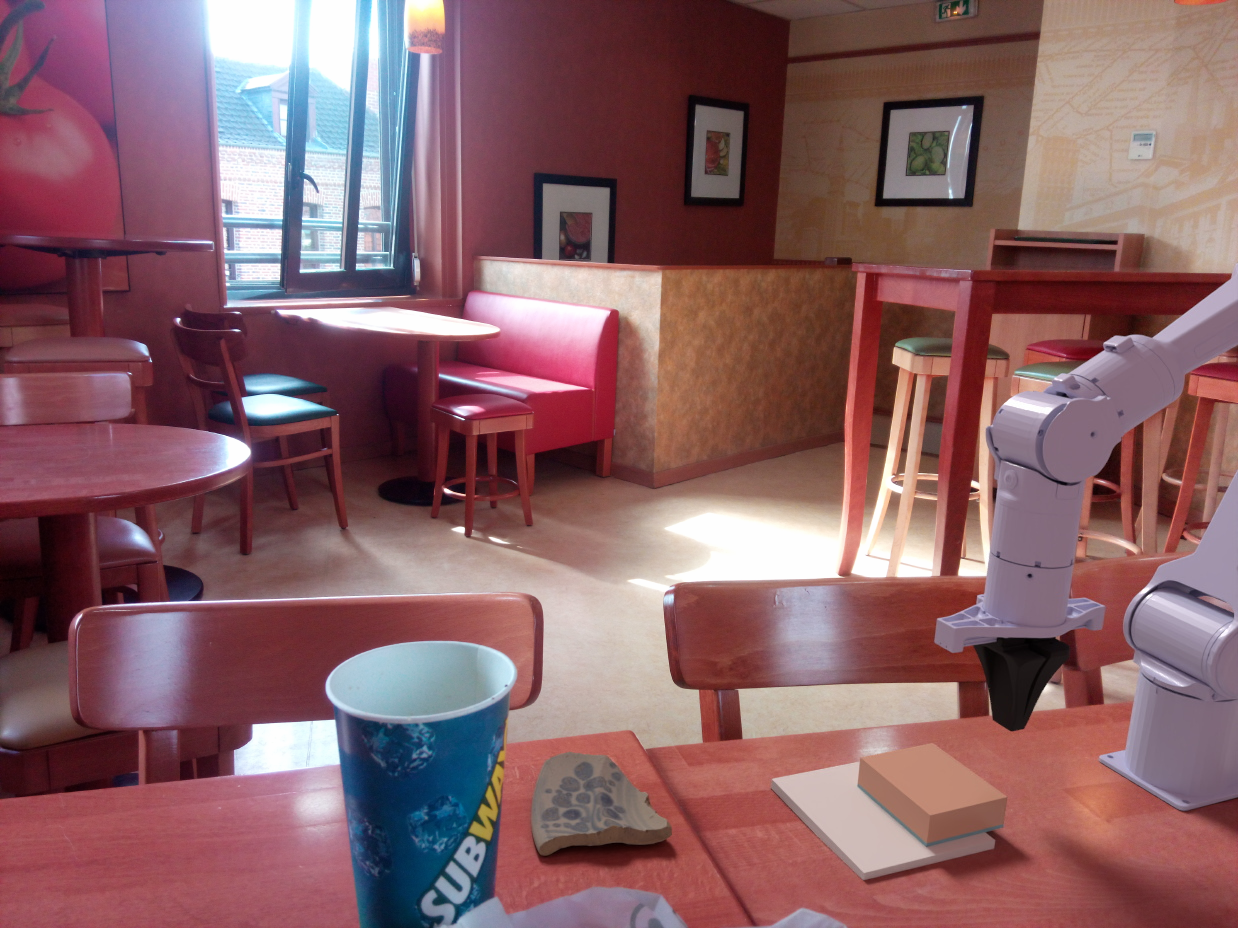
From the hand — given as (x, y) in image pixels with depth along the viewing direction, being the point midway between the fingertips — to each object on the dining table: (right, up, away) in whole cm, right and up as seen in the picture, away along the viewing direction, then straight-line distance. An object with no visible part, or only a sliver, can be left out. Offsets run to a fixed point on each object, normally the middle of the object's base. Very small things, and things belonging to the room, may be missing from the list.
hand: (1008, 724), depth 71 cm
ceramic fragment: (-26, -6, -2) cm, 27 cm away
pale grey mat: (-11, -7, -2) cm, 13 cm away
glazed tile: (-3, -4, 0) cm, 6 cm away
